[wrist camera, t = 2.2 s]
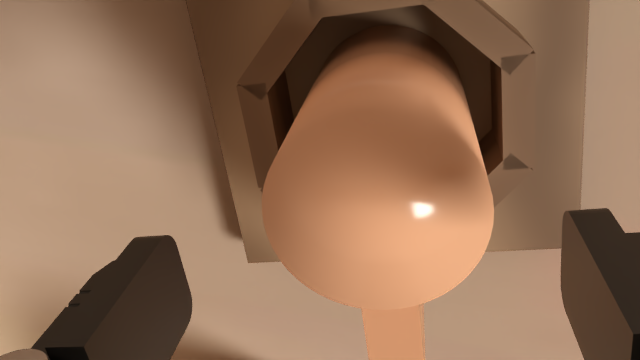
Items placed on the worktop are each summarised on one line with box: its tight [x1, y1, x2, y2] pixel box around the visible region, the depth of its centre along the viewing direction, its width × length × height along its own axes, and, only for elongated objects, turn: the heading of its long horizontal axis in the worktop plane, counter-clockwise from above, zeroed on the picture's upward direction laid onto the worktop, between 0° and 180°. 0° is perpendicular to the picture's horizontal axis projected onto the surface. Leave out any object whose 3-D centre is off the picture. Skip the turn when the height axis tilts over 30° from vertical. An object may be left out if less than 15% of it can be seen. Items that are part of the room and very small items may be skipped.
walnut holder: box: [186, 0, 589, 263], centre depth 21 cm, size 14×14×4 cm
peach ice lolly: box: [262, 25, 494, 360], centre depth 18 cm, size 9×6×9 cm, turn 9°
